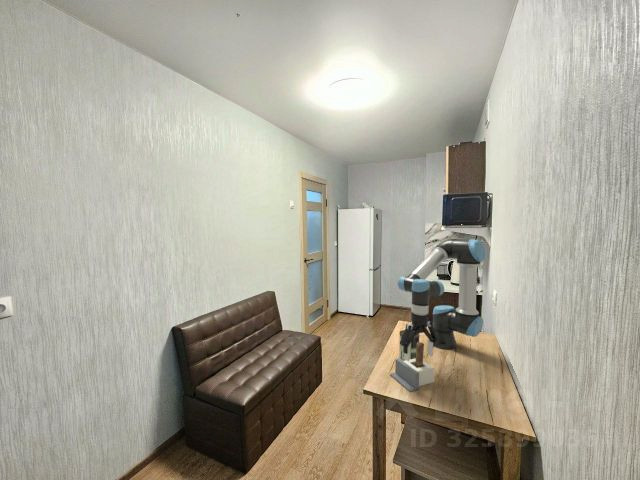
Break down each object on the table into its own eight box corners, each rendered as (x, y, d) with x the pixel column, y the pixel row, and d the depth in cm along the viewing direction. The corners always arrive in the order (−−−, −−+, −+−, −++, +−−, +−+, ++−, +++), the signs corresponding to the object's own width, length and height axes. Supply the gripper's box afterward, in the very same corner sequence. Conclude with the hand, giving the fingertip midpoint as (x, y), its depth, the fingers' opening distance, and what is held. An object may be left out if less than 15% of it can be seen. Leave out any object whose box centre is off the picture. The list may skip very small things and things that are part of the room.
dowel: (418, 373, 129) (420, 341, 128) (423, 377, 126) (425, 344, 125) (413, 375, 128) (415, 342, 126) (417, 378, 125) (420, 345, 123)
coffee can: (417, 355, 150) (417, 330, 149) (420, 364, 140) (421, 338, 139) (398, 353, 152) (398, 329, 151) (399, 362, 142) (400, 336, 141)
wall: (398, 373, 132) (399, 358, 131) (418, 389, 119) (419, 372, 118) (390, 375, 130) (390, 360, 129) (409, 392, 117) (410, 375, 116)
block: (418, 371, 133) (418, 357, 133) (433, 382, 124) (434, 367, 124) (401, 375, 130) (402, 361, 129) (416, 386, 120) (416, 371, 120)
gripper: (434, 307, 133) (433, 349, 135) (392, 313, 124) (391, 358, 126) (446, 312, 126) (445, 356, 128) (403, 318, 117) (401, 366, 119)
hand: (418, 357), depth 127 cm, fingers open, 13 cm apart
